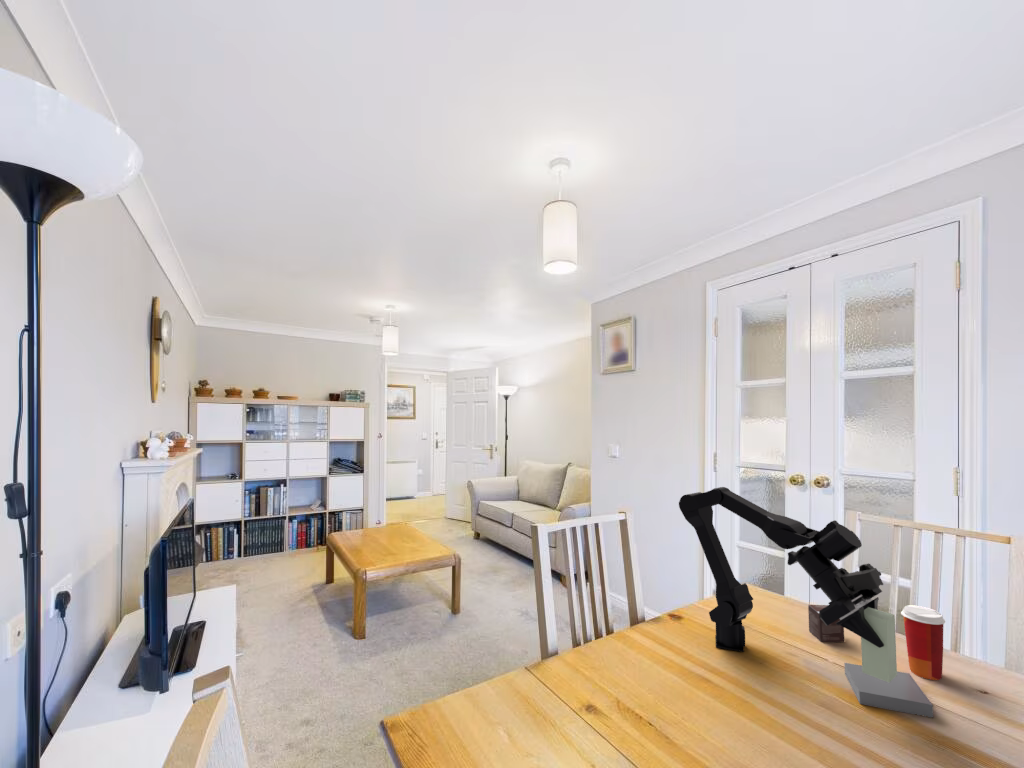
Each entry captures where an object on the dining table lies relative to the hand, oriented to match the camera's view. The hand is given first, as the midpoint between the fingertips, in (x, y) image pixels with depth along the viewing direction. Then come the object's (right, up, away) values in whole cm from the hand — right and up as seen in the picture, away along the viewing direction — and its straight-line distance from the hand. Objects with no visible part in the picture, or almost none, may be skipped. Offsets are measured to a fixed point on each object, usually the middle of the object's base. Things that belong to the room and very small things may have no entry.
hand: (886, 643), depth 97 cm
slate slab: (+4, -14, +5) cm, 15 cm away
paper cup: (+19, -14, +13) cm, 27 cm away
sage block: (-1, -7, +1) cm, 7 cm away
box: (+8, -15, +30) cm, 35 cm away
